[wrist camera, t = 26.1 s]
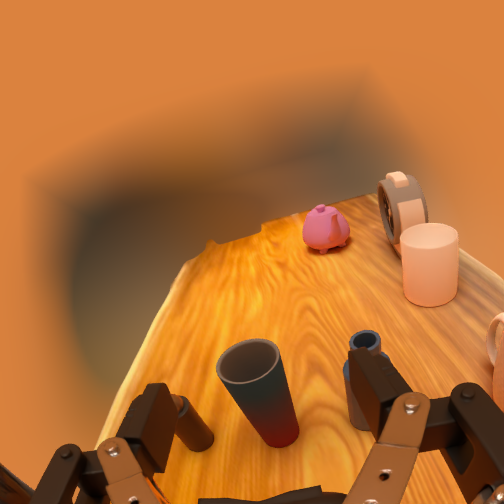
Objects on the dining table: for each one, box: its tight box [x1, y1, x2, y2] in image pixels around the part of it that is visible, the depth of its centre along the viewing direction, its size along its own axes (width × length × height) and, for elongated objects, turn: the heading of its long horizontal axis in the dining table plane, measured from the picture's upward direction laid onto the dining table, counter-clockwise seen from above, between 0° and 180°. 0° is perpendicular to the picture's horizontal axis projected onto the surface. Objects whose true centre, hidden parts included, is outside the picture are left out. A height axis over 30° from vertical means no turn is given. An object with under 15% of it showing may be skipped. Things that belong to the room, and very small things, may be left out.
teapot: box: [303, 204, 350, 254], centre depth 83 cm, size 20×14×12 cm
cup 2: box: [400, 223, 459, 307], centre depth 48 cm, size 12×12×12 cm
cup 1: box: [216, 339, 299, 448], centre depth 31 cm, size 7×7×15 cm
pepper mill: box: [171, 394, 214, 452], centre depth 34 cm, size 4×4×10 cm
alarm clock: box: [377, 171, 428, 261], centre depth 64 cm, size 18×8×20 cm, turn 170°
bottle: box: [343, 330, 391, 431], centre depth 29 cm, size 5×5×14 cm
